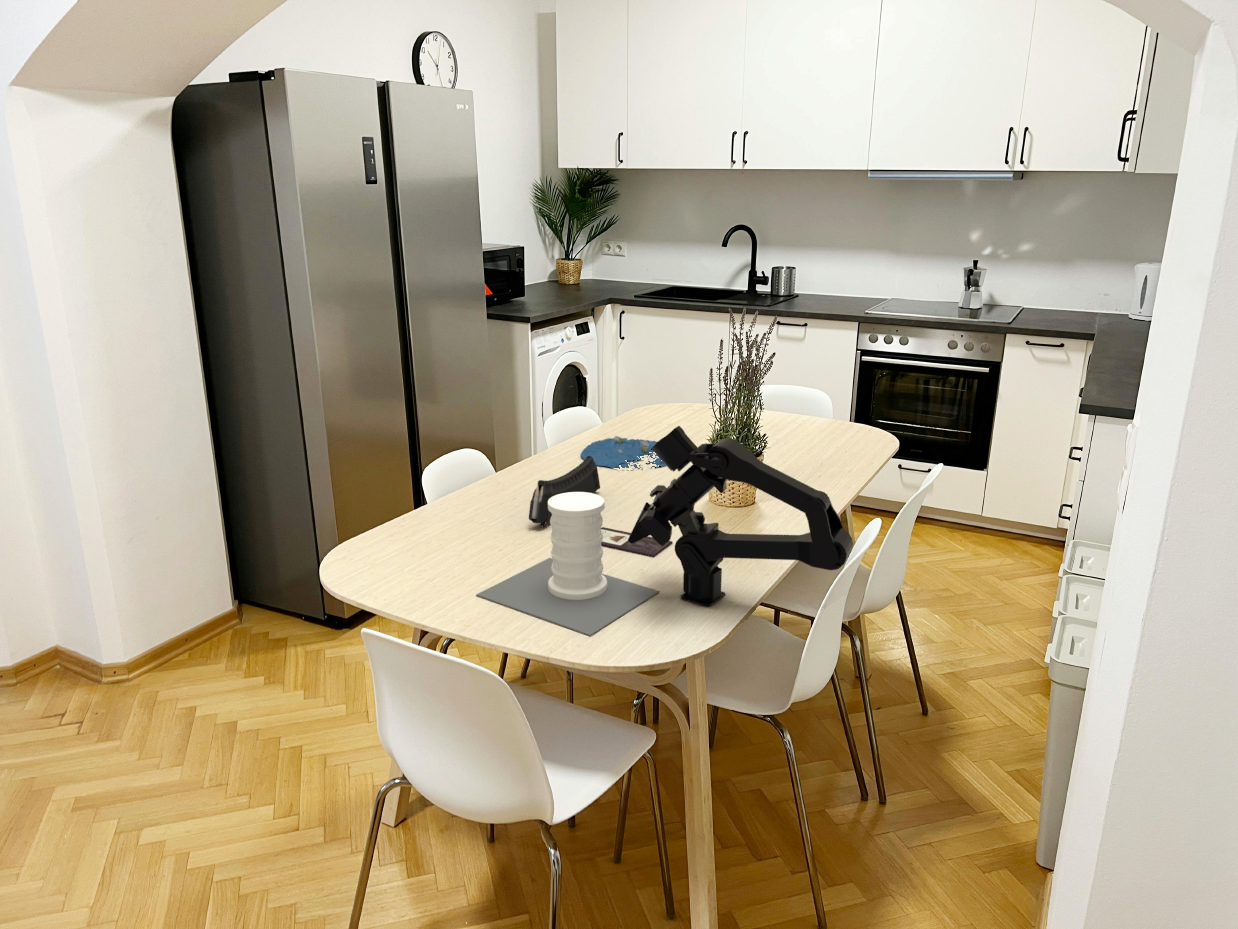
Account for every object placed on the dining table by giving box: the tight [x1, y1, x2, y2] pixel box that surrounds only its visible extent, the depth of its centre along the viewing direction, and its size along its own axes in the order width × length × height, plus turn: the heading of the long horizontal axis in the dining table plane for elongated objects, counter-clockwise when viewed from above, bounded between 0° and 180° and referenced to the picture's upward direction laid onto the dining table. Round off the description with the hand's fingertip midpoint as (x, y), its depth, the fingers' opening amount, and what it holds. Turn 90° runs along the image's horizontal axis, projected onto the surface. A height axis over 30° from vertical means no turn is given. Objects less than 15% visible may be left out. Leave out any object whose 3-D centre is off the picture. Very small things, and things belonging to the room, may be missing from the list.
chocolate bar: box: [601, 526, 673, 559], centre depth 198 cm, size 9×1×18 cm
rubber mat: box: [475, 557, 660, 637], centre depth 173 cm, size 28×22×1 cm
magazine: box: [528, 456, 601, 527], centre depth 218 cm, size 17×3×30 cm
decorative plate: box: [580, 435, 667, 470], centre depth 263 cm, size 30×30×5 cm
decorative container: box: [548, 492, 607, 600], centre depth 173 cm, size 12×12×18 cm
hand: (629, 541), depth 171 cm, fingers closed
